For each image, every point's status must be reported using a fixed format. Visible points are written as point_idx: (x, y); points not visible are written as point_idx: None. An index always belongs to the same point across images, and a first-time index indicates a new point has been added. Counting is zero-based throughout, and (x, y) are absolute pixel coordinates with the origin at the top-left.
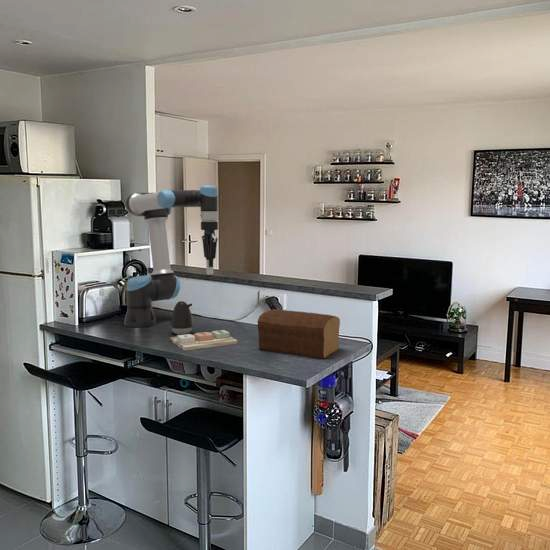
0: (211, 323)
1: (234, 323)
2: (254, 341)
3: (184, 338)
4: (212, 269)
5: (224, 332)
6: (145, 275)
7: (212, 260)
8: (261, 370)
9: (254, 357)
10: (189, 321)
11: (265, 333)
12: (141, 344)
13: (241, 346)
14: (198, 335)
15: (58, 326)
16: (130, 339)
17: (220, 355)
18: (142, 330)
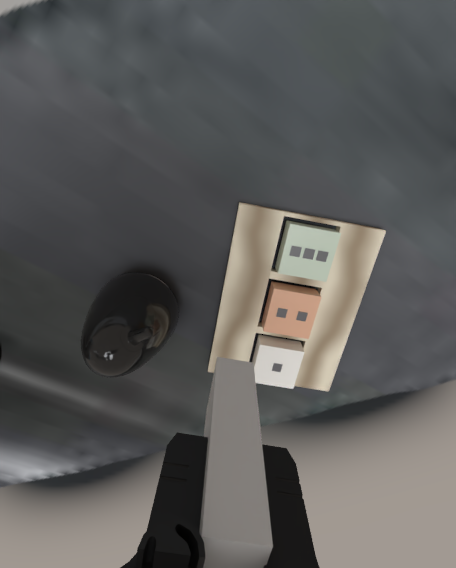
0: (48, 122)
1: (98, 25)
2: (404, 158)
3: (295, 380)
4: (254, 407)
5: (324, 245)
6: None
7: (313, 563)
8: None
9: None
10: (171, 311)
11: None
12: (195, 431)
13: (415, 237)
14: (295, 335)
15: None
16: (130, 430)
17: (436, 338)
18: (42, 370)
